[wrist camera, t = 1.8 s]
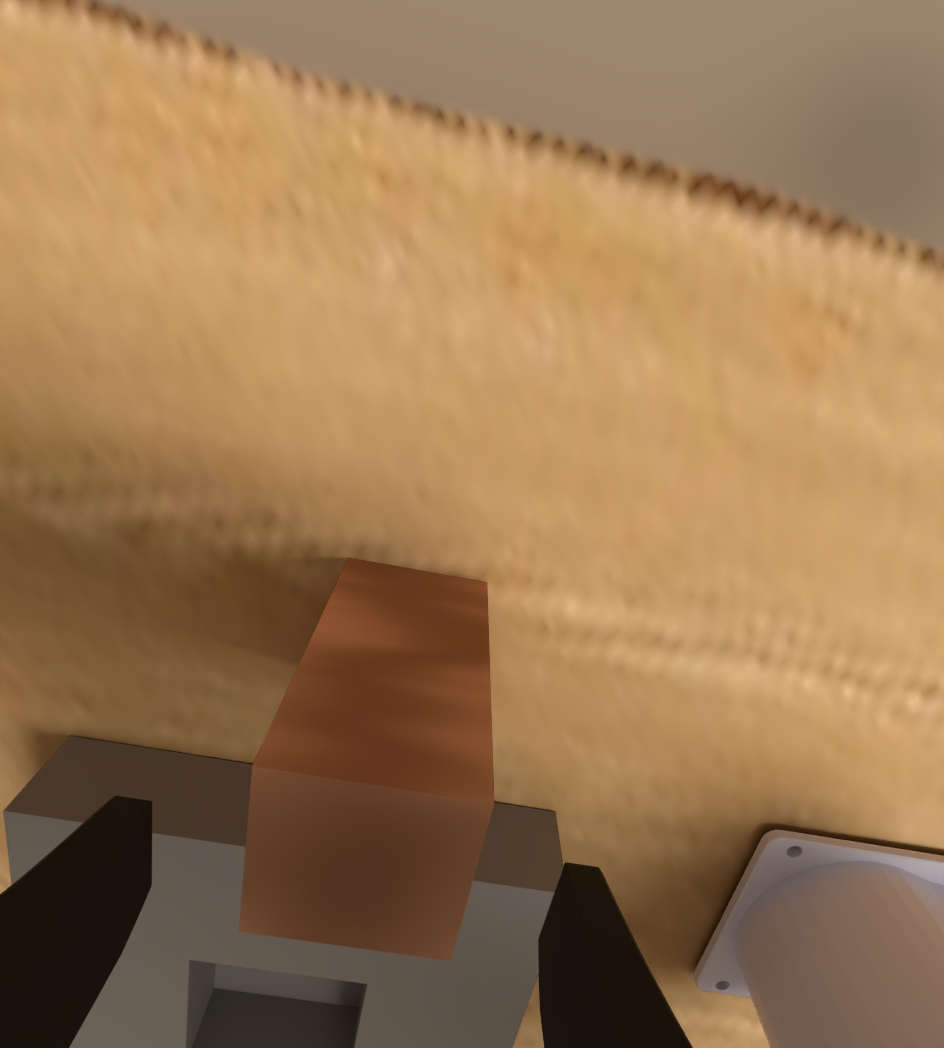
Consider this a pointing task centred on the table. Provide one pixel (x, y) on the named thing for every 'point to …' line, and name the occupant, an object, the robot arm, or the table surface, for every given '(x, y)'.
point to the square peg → (377, 770)
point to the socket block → (273, 962)
